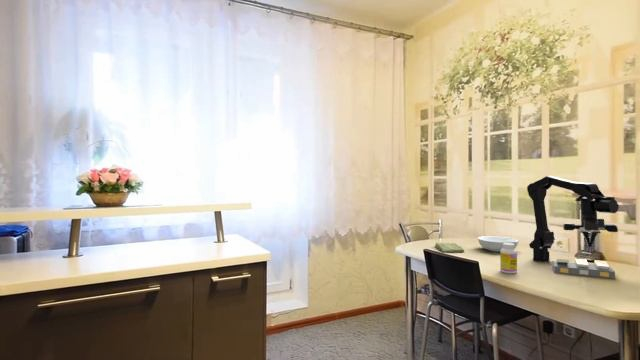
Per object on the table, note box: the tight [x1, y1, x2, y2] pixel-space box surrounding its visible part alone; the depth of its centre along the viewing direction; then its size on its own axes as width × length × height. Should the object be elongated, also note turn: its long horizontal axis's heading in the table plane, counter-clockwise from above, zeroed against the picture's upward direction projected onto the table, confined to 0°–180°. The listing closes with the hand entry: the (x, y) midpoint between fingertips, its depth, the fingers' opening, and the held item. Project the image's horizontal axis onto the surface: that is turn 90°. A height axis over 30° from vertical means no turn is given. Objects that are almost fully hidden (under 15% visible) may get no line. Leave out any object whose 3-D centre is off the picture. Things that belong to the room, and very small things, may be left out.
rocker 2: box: [574, 258, 589, 267], centre depth 155 cm, size 4×6×1 cm, turn 151°
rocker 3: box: [594, 259, 610, 269], centre depth 151 cm, size 4×6×1 cm, turn 151°
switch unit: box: [551, 260, 616, 280], centre depth 155 cm, size 21×10×3 cm, turn 61°
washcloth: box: [434, 242, 465, 253], centre depth 207 cm, size 13×18×3 cm
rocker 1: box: [556, 258, 570, 263], centre depth 158 cm, size 4×6×1 cm, turn 151°
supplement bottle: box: [499, 243, 518, 275], centre depth 158 cm, size 7×7×13 cm
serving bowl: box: [477, 235, 519, 253], centre depth 202 cm, size 21×21×7 cm
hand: (589, 246), depth 155 cm, fingers closed
